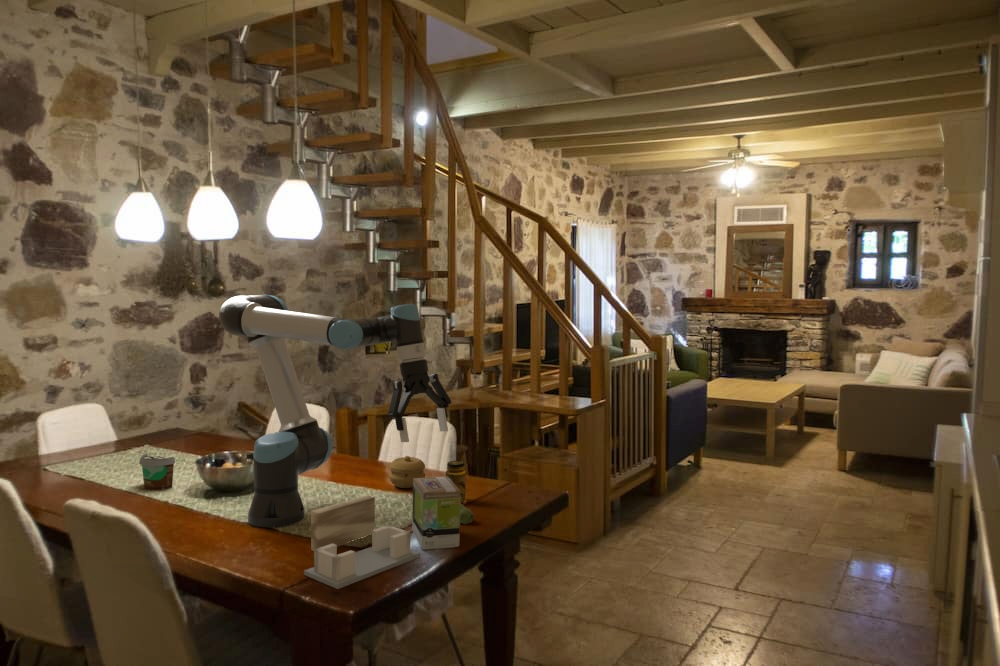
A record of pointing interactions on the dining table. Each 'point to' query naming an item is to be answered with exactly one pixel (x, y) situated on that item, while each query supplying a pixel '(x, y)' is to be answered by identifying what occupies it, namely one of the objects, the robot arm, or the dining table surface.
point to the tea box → (436, 512)
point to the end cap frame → (362, 558)
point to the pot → (406, 471)
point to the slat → (342, 522)
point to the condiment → (457, 476)
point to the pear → (465, 515)
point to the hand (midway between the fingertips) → (425, 436)
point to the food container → (157, 472)
